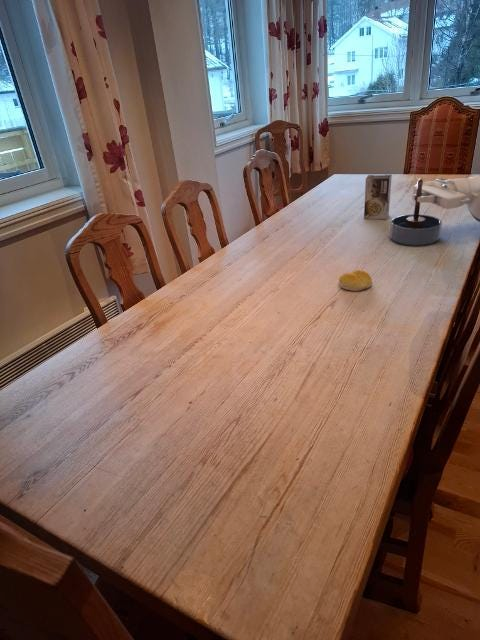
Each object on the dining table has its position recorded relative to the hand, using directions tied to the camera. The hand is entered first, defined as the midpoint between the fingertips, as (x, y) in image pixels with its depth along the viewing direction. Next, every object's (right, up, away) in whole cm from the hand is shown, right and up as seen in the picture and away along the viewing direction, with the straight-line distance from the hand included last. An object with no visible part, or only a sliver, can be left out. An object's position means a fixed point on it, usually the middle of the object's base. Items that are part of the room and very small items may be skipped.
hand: (415, 198), depth 143 cm
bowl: (+2, -12, +7) cm, 14 cm away
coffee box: (-4, +1, +31) cm, 31 cm away
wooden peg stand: (+2, -8, +5) cm, 9 cm away
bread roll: (-26, -31, -20) cm, 45 cm away
